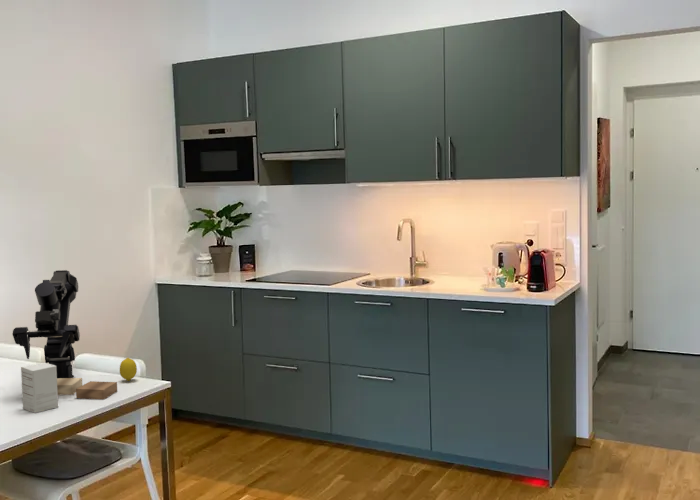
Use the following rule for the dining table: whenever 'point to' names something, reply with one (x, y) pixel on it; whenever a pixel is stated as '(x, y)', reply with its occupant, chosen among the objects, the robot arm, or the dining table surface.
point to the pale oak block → (68, 385)
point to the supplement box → (39, 387)
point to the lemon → (128, 369)
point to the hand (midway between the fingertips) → (44, 357)
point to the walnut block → (96, 390)
